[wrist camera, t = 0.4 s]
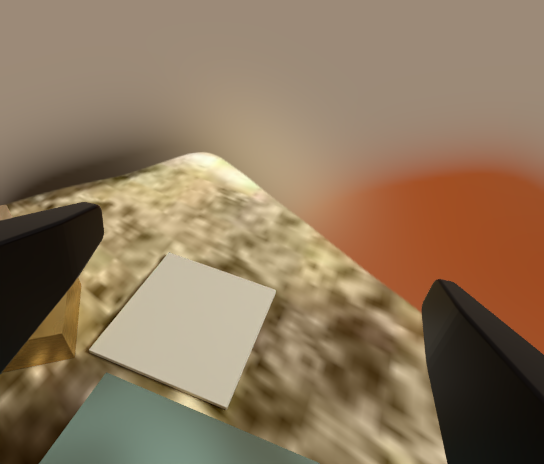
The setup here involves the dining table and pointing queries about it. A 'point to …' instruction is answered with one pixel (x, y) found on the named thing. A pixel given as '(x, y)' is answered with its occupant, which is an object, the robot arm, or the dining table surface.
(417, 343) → the dining table surface
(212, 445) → the drawer
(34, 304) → the robot arm
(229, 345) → the grey mat
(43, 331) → the frame
